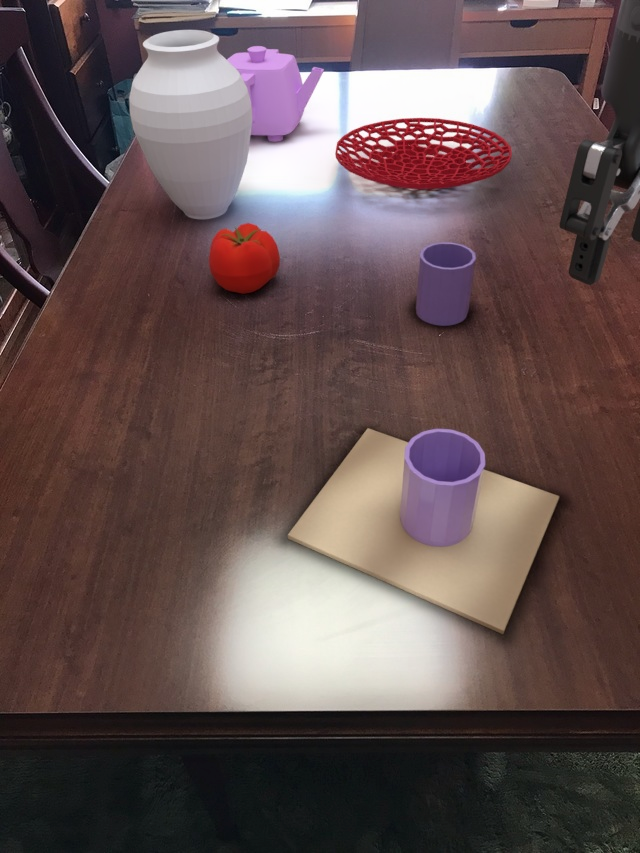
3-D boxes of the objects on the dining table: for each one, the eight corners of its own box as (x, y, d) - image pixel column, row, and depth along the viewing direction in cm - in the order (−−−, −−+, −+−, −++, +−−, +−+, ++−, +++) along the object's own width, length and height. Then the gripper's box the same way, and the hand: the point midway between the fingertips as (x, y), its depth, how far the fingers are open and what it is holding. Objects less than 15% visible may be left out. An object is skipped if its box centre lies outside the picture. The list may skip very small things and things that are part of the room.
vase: (241, 239, 104) (221, 58, 87) (132, 230, 107) (92, 53, 90) (273, 190, 117) (260, 23, 100) (174, 183, 120) (146, 21, 103)
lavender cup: (483, 506, 63) (496, 444, 58) (457, 558, 59) (468, 496, 54) (417, 481, 66) (423, 419, 60) (387, 529, 62) (391, 467, 56)
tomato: (211, 302, 91) (203, 251, 86) (215, 268, 98) (208, 219, 93) (281, 299, 91) (277, 248, 86) (281, 265, 98) (278, 216, 93)
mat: (558, 500, 64) (559, 496, 64) (502, 634, 54) (504, 630, 54) (367, 431, 72) (367, 427, 72) (287, 539, 62) (287, 534, 62)
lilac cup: (475, 305, 89) (483, 249, 84) (456, 331, 85) (463, 274, 80) (427, 293, 92) (432, 237, 86) (407, 317, 87) (411, 261, 82)
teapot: (200, 128, 140) (188, 45, 129) (276, 108, 147) (271, 29, 137) (248, 157, 128) (239, 69, 118) (327, 134, 135) (326, 50, 125)
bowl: (357, 140, 133) (357, 113, 129) (513, 152, 126) (517, 123, 123) (315, 205, 112) (314, 175, 109) (499, 223, 106) (504, 192, 102)
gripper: (680, 56, 37) (605, 315, 48) (797, 9, 43) (708, 245, 54) (560, 33, 41) (517, 275, 52) (683, -7, 48) (622, 215, 58)
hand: (615, 259), depth 53 cm, fingers open, 8 cm apart
